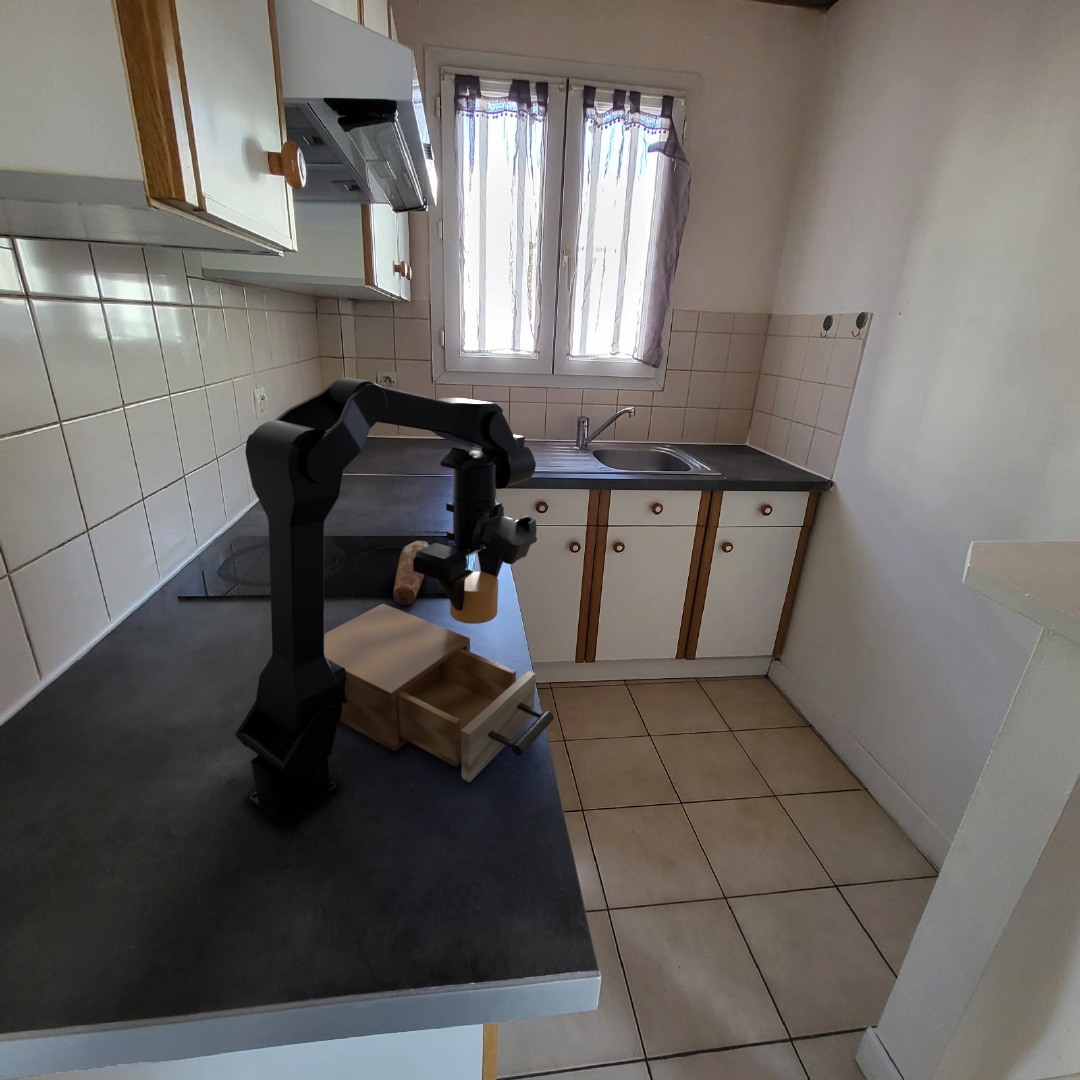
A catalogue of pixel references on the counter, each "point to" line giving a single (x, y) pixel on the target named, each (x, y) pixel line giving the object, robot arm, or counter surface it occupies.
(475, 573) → the tan round cylinder
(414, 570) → the robot arm
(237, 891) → the counter surface
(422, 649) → the cabinet
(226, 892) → the counter surface
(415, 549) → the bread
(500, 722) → the drawer
